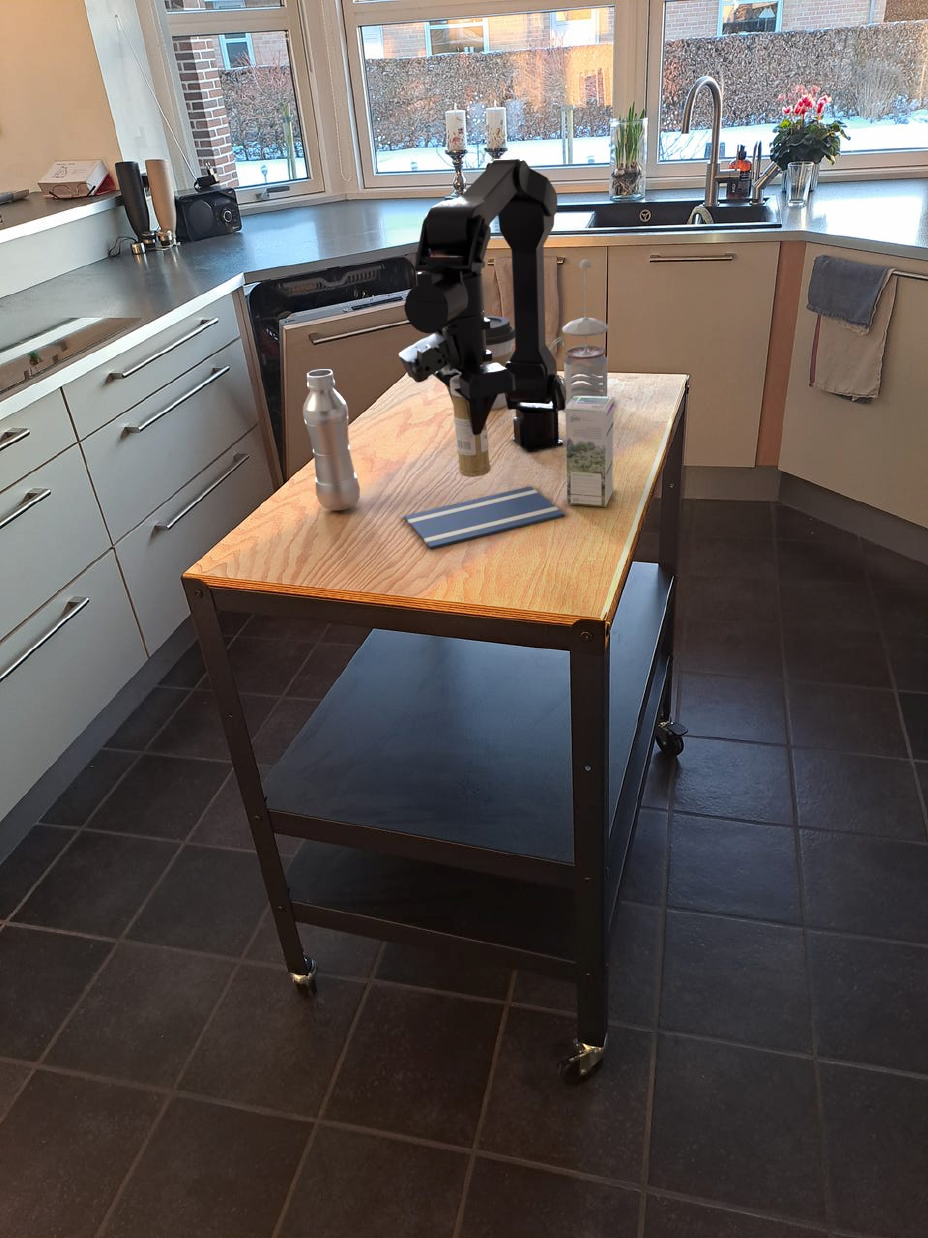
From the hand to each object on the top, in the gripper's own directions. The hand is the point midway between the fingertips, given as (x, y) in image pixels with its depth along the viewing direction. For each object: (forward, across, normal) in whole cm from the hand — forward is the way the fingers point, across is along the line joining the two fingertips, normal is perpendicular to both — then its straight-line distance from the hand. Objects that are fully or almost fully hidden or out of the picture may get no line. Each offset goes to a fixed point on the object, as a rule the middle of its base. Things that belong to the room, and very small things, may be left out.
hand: (470, 429), depth 126 cm
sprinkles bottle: (+6, 0, 0) cm, 6 cm away
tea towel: (+12, +3, 0) cm, 12 cm away
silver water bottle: (+12, -12, -17) cm, 24 cm away
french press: (+12, -32, +34) cm, 48 cm away
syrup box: (+12, +5, +16) cm, 21 cm away
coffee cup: (+12, -42, +20) cm, 48 cm away
